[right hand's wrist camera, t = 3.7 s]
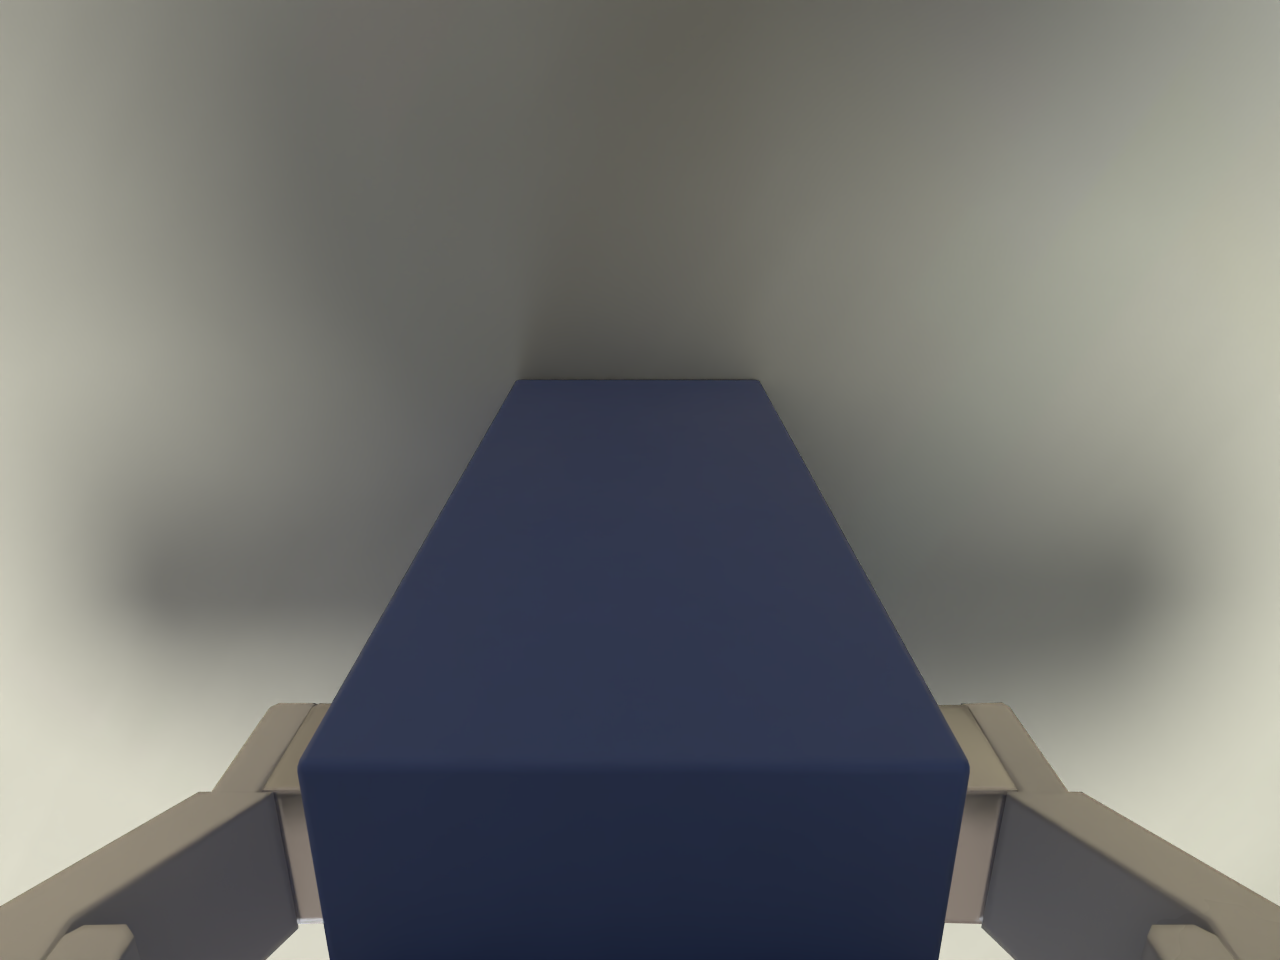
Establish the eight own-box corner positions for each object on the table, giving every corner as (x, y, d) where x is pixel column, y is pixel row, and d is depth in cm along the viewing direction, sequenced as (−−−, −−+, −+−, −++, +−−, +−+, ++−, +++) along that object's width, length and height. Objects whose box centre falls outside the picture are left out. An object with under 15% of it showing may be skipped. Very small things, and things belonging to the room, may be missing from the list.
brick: (533, 732, 16) (405, 1416, 7) (515, 378, 14) (290, 765, 5) (742, 732, 16) (865, 1417, 7) (760, 378, 14) (977, 763, 5)
